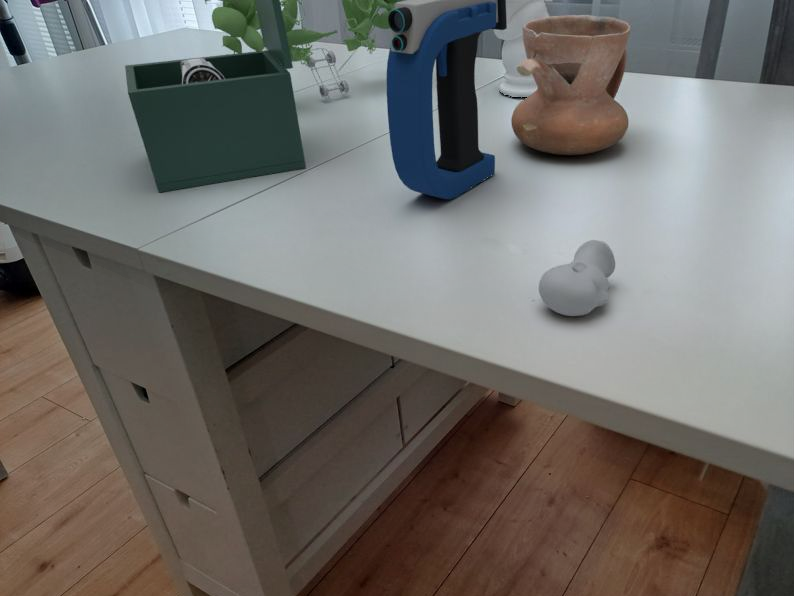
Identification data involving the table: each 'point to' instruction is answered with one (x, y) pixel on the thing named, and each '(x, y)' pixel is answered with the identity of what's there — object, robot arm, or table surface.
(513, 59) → the cherub figurine
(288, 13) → the plant cuttings
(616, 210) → the table surface
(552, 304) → the smooth white sculpture
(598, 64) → the ceramic jug
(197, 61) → the watch
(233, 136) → the dark green hollow box
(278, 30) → the lid
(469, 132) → the handheld scanner
